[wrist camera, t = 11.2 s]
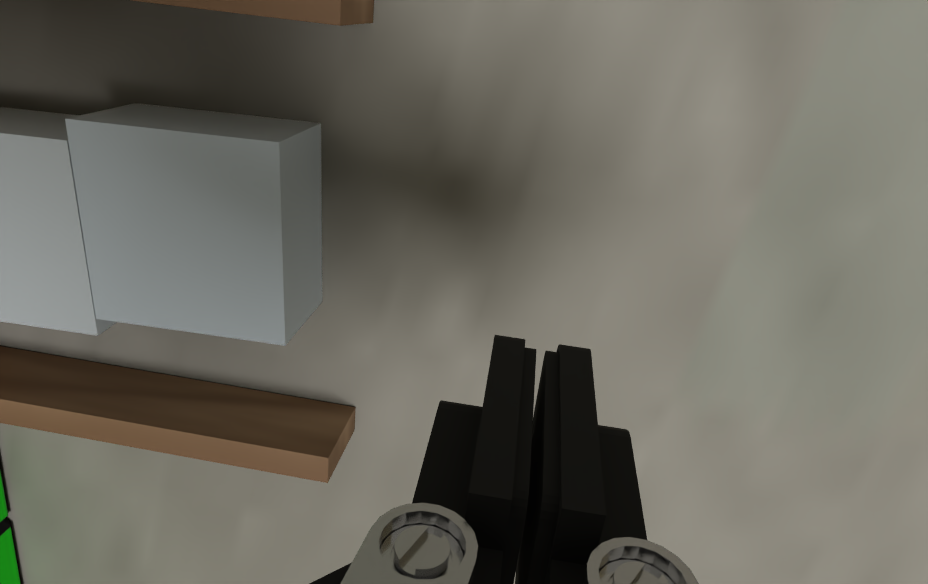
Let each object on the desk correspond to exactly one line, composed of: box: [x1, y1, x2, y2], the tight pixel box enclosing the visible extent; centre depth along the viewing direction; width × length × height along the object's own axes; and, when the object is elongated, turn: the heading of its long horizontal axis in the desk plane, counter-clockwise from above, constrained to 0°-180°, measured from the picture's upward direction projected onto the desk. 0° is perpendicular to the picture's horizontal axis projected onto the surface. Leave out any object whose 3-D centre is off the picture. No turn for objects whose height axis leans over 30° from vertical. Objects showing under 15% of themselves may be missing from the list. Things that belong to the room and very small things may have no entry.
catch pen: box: [0, 0, 374, 483], centre depth 21 cm, size 15×15×3 cm
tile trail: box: [65, 103, 322, 346], centre depth 20 cm, size 6×6×4 cm
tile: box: [0, 107, 117, 336], centre depth 21 cm, size 6×6×4 cm
